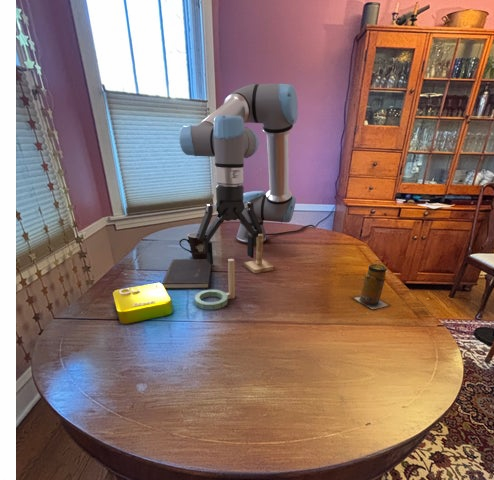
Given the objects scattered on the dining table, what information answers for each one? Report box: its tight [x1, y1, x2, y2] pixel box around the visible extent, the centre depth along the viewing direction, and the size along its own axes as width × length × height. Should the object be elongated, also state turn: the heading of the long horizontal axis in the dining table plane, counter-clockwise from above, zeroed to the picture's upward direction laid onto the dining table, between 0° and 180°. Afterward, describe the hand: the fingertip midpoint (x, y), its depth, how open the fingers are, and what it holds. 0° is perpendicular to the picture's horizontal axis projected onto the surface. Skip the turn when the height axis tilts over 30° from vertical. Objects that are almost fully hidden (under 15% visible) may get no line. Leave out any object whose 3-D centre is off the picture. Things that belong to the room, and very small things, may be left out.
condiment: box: [353, 264, 389, 310], centre depth 95 cm, size 7×8×12 cm
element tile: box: [112, 282, 174, 325], centre depth 89 cm, size 15×15×5 cm
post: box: [243, 234, 275, 274], centre depth 118 cm, size 9×9×14 cm
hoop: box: [193, 258, 236, 311], centre depth 93 cm, size 13×10×13 cm
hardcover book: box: [161, 258, 213, 290], centre depth 112 cm, size 16×23×2 cm
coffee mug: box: [178, 231, 207, 259], centre depth 127 cm, size 12×9×10 cm
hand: (231, 259), depth 91 cm, fingers open, 13 cm apart
